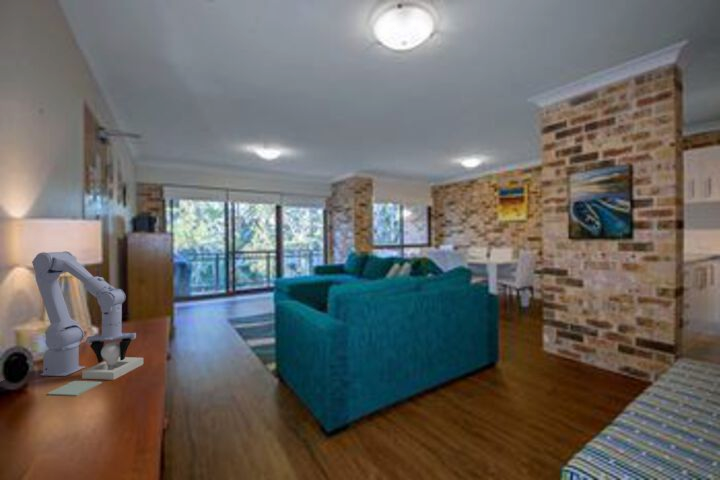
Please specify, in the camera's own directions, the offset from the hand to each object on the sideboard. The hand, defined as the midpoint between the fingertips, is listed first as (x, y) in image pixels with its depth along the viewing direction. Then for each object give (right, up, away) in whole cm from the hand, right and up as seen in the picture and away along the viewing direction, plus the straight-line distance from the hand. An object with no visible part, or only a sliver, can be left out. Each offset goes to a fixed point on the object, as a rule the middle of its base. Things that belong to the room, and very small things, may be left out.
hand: (111, 360), depth 118 cm
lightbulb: (0, -5, 0) cm, 5 cm away
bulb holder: (0, -4, +1) cm, 4 cm away
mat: (-2, -4, -13) cm, 14 cm away
